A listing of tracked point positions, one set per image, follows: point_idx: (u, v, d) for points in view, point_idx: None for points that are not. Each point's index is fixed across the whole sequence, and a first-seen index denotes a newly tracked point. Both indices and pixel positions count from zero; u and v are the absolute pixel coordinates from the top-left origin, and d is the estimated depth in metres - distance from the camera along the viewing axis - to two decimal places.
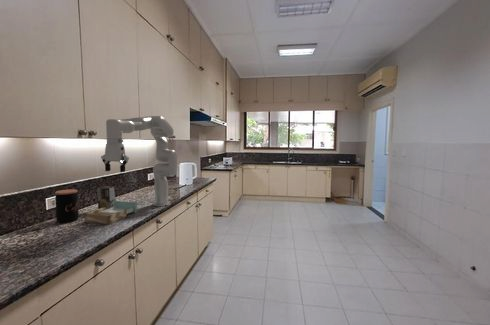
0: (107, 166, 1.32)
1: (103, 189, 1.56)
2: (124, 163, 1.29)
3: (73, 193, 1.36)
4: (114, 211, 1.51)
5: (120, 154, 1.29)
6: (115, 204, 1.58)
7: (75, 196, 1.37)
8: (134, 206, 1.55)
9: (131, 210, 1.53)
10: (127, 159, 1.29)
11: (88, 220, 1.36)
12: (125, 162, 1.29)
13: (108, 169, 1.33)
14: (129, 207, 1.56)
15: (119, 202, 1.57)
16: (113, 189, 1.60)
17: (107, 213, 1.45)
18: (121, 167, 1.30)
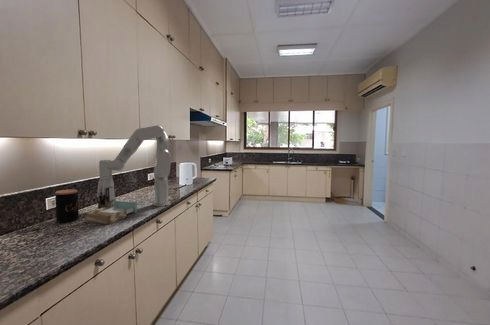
0: None
1: None
2: None
3: (73, 193, 1.36)
4: (114, 211, 1.51)
5: None
6: (115, 204, 1.58)
7: (75, 196, 1.37)
8: (134, 206, 1.55)
9: (131, 210, 1.53)
10: None
11: (88, 220, 1.36)
12: None
13: None
14: (129, 207, 1.56)
15: (119, 202, 1.57)
16: (113, 189, 1.60)
17: (107, 213, 1.45)
18: None
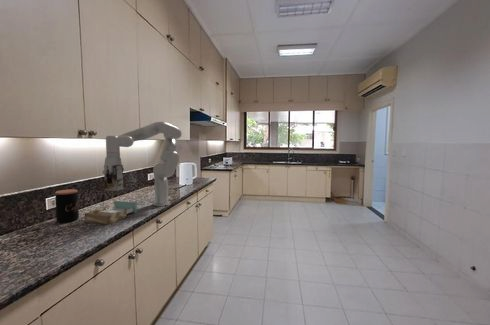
0: None
1: None
2: None
3: (73, 193, 1.36)
4: (114, 211, 1.51)
5: None
6: (115, 204, 1.58)
7: (75, 196, 1.37)
8: (134, 206, 1.55)
9: (131, 210, 1.53)
10: None
11: (88, 220, 1.36)
12: None
13: None
14: (129, 207, 1.56)
15: (119, 202, 1.57)
16: (120, 167, 1.49)
17: (107, 213, 1.45)
18: None
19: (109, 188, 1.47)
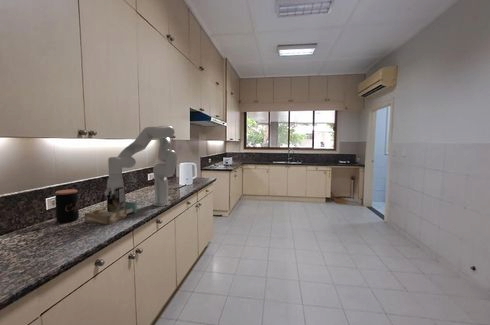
0: None
1: None
2: None
3: (73, 193, 1.36)
4: None
5: None
6: None
7: (75, 196, 1.37)
8: (134, 206, 1.54)
9: (131, 210, 1.53)
10: (125, 189, 1.56)
11: (88, 220, 1.36)
12: (125, 191, 1.55)
13: None
14: (129, 207, 1.55)
15: None
16: (123, 190, 1.49)
17: (107, 213, 1.44)
18: None
19: (111, 211, 1.46)
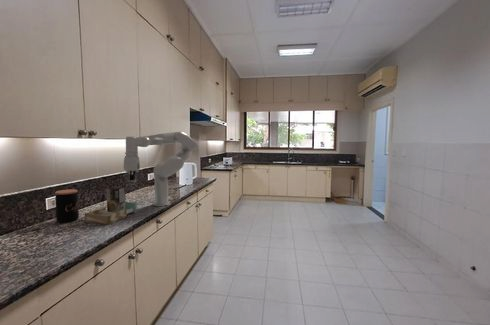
0: None
1: (113, 190, 1.45)
2: None
3: (73, 193, 1.36)
4: None
5: None
6: None
7: (75, 196, 1.37)
8: (134, 206, 1.55)
9: (131, 210, 1.53)
10: None
11: (88, 220, 1.36)
12: None
13: None
14: (129, 207, 1.55)
15: None
16: (123, 190, 1.49)
17: (107, 213, 1.44)
18: None
19: (111, 211, 1.46)
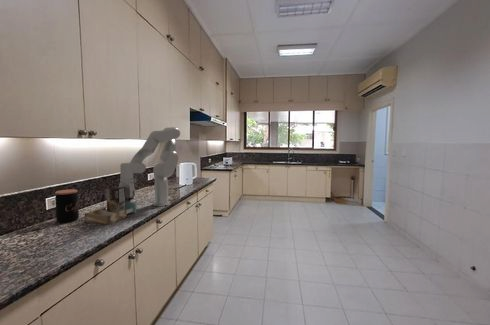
0: None
1: (112, 190, 1.45)
2: (125, 199, 1.60)
3: (73, 193, 1.36)
4: None
5: None
6: None
7: (75, 196, 1.37)
8: (134, 206, 1.54)
9: (131, 210, 1.53)
10: None
11: (88, 220, 1.36)
12: None
13: None
14: (129, 207, 1.55)
15: None
16: (123, 190, 1.49)
17: (107, 213, 1.44)
18: None
19: (111, 211, 1.46)
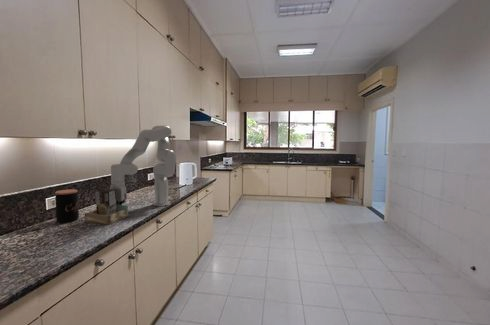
0: None
1: (102, 192, 1.37)
2: None
3: (73, 193, 1.36)
4: None
5: None
6: None
7: (75, 196, 1.37)
8: None
9: None
10: None
11: (88, 220, 1.36)
12: None
13: None
14: (120, 210, 1.48)
15: None
16: (113, 192, 1.41)
17: None
18: None
19: None
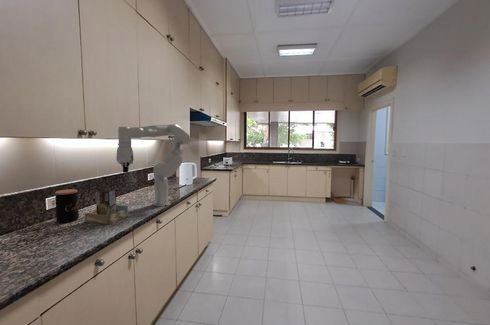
0: None
1: (102, 192, 1.37)
2: None
3: (73, 193, 1.36)
4: None
5: None
6: None
7: (75, 196, 1.37)
8: None
9: None
10: None
11: (88, 220, 1.36)
12: None
13: None
14: (120, 210, 1.48)
15: None
16: (114, 192, 1.41)
17: None
18: None
19: None
